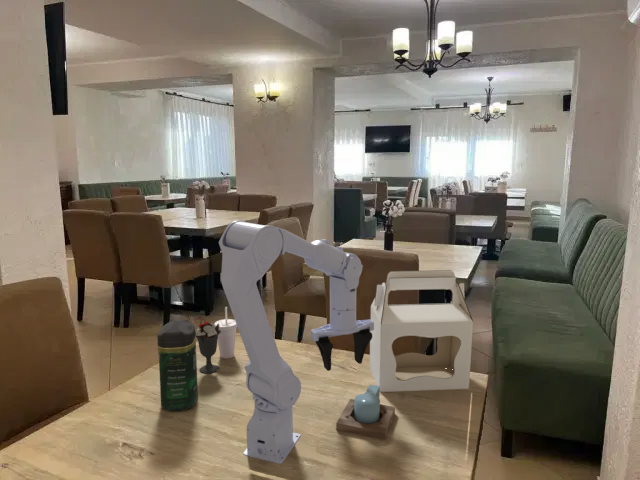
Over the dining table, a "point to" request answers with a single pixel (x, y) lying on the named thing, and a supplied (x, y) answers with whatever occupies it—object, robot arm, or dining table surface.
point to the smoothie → (226, 336)
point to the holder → (370, 430)
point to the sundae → (207, 344)
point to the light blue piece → (368, 406)
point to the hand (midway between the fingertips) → (343, 365)
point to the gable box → (421, 335)
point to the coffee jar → (177, 365)
